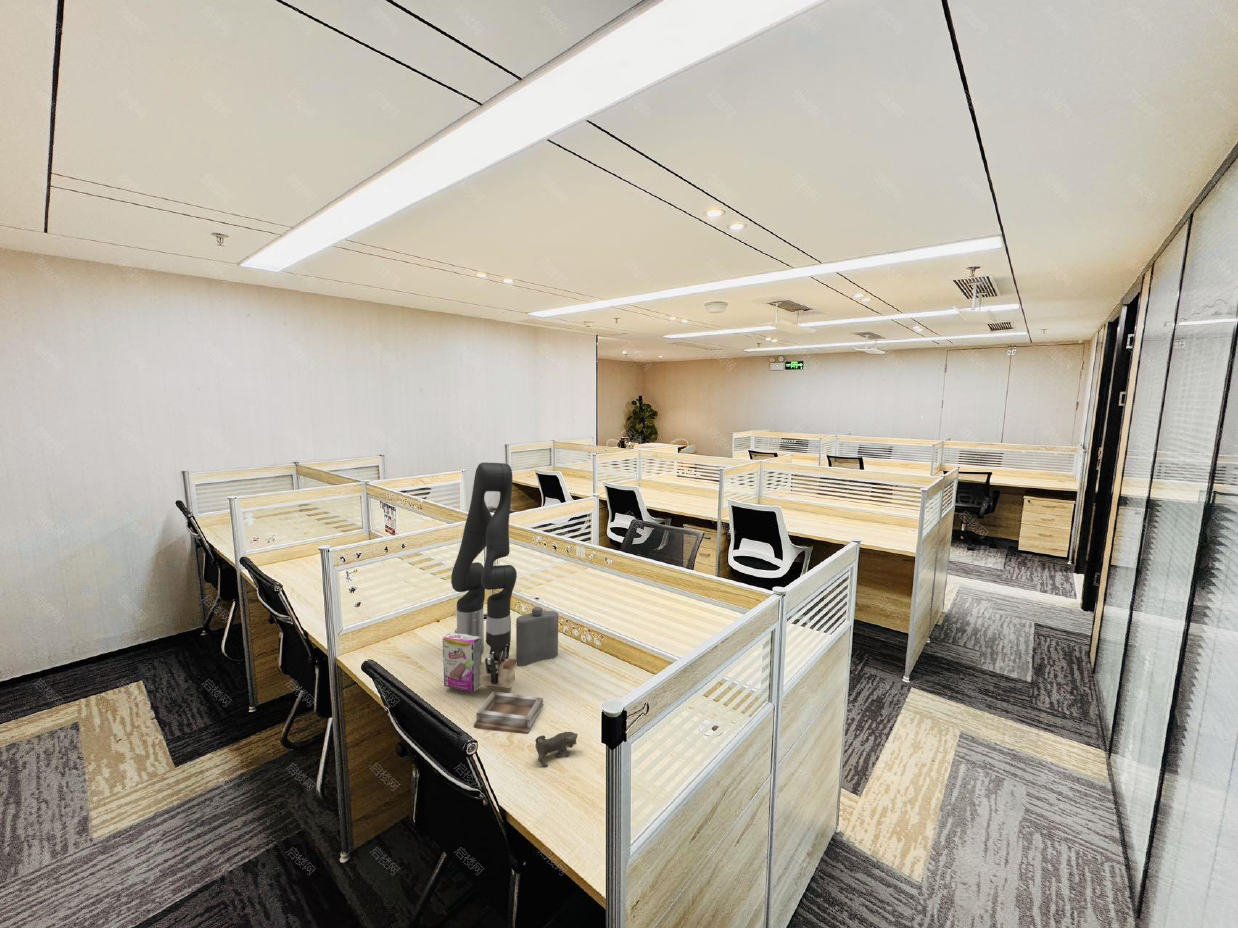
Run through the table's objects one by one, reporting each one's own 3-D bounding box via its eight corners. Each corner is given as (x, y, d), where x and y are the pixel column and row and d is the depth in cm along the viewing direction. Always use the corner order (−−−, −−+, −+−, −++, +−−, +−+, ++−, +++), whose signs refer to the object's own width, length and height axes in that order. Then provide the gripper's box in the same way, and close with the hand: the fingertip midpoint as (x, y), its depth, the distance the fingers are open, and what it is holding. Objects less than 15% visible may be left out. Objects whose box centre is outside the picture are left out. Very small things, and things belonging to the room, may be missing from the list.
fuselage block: (479, 683, 159) (478, 662, 158) (485, 676, 163) (485, 655, 162) (510, 687, 157) (510, 666, 156) (516, 680, 161) (516, 659, 160)
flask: (554, 654, 185) (554, 602, 183) (559, 662, 180) (560, 608, 177) (513, 663, 178) (513, 608, 176) (518, 671, 173) (518, 615, 171)
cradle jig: (474, 727, 143) (473, 715, 142) (494, 699, 156) (494, 688, 156) (528, 735, 140) (528, 723, 139) (544, 705, 154) (544, 695, 153)
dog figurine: (539, 771, 126) (539, 743, 126) (532, 757, 131) (532, 730, 131) (583, 757, 132) (583, 730, 131) (575, 744, 137) (575, 718, 136)
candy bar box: (443, 687, 159) (441, 637, 157) (452, 678, 164) (451, 630, 162) (473, 693, 156) (472, 643, 154) (482, 684, 161) (481, 636, 159)
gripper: (497, 616, 165) (496, 665, 168) (476, 636, 151) (476, 689, 154) (518, 619, 164) (517, 669, 166) (500, 639, 150) (499, 693, 152)
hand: (497, 678), depth 160 cm, fingers closed on fuselage block, 4 cm apart
